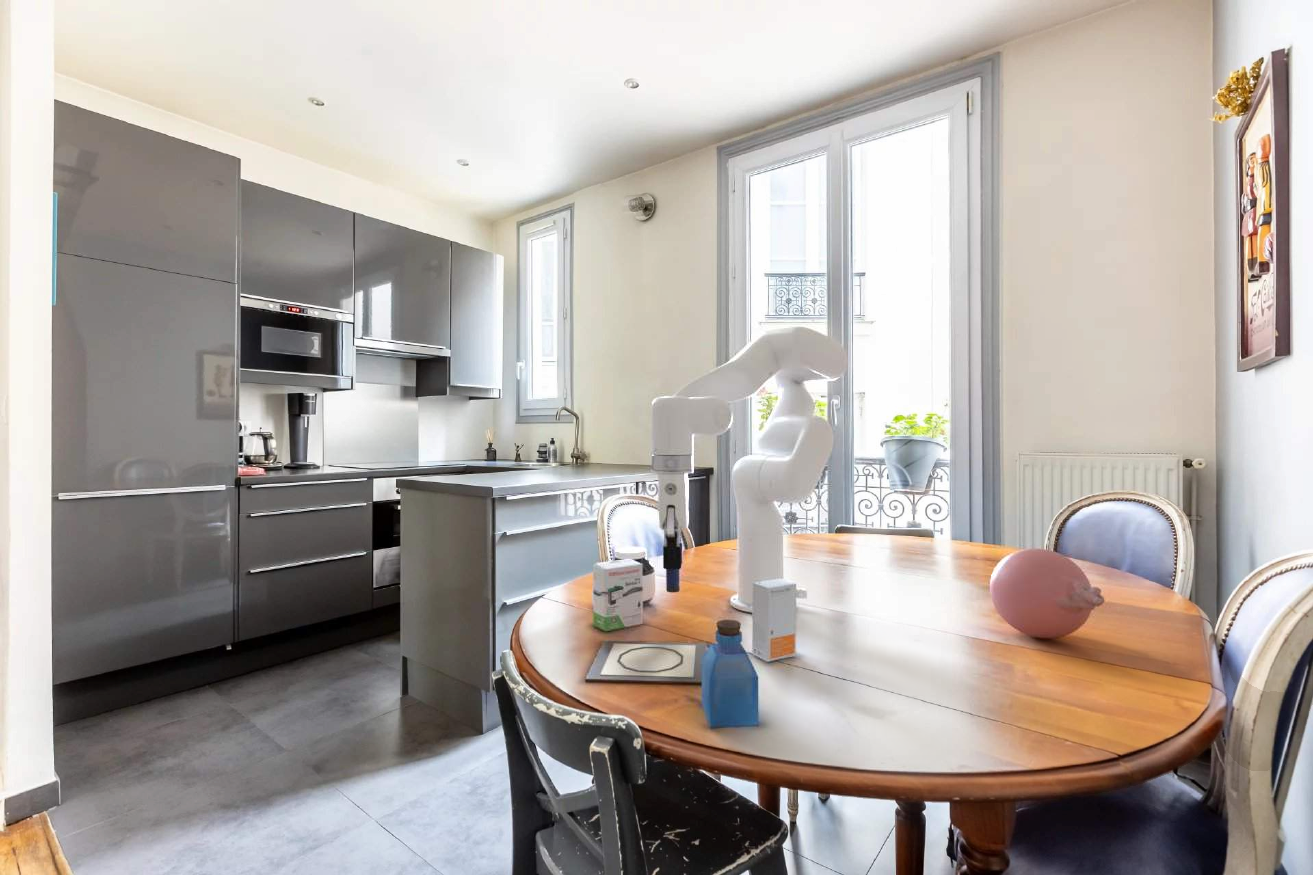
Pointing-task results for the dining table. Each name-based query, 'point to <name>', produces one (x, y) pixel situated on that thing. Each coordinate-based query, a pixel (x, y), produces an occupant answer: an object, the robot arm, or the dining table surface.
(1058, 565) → the balloon
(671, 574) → the marker
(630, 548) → the spread jar
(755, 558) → the robot arm
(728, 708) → the perfume bottle
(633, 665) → the drawing board
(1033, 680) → the dining table surface
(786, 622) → the cosmetic box
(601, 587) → the ink box
